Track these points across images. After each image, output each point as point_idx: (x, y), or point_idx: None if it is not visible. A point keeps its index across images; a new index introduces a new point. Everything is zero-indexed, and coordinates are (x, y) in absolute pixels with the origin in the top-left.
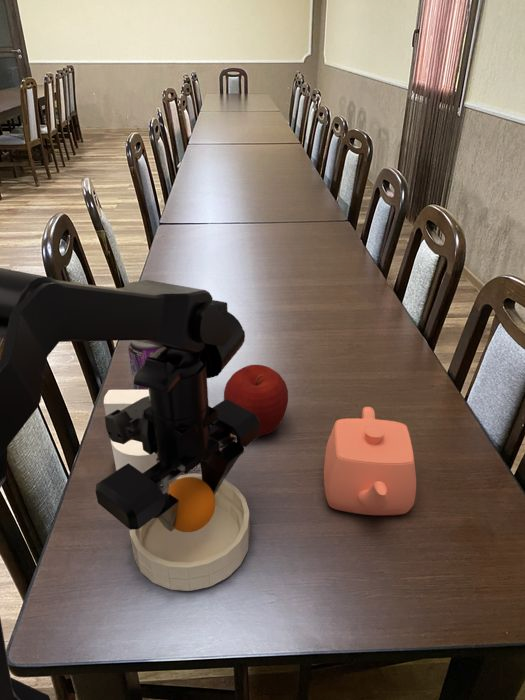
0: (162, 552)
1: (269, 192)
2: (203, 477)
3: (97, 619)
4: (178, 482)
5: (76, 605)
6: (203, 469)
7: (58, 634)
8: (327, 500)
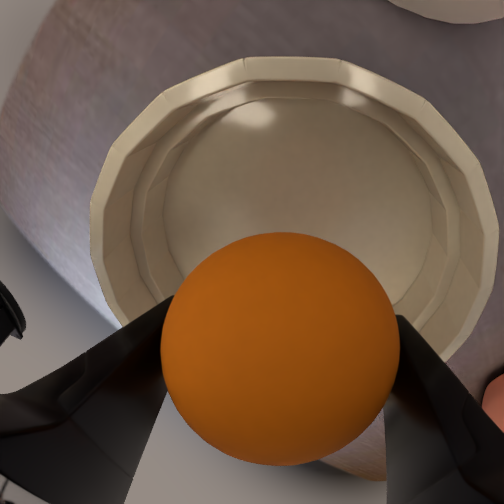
0: (209, 208)
1: None
2: (413, 384)
3: (58, 215)
4: (254, 418)
5: (40, 165)
6: (425, 428)
7: (17, 191)
8: (492, 393)
